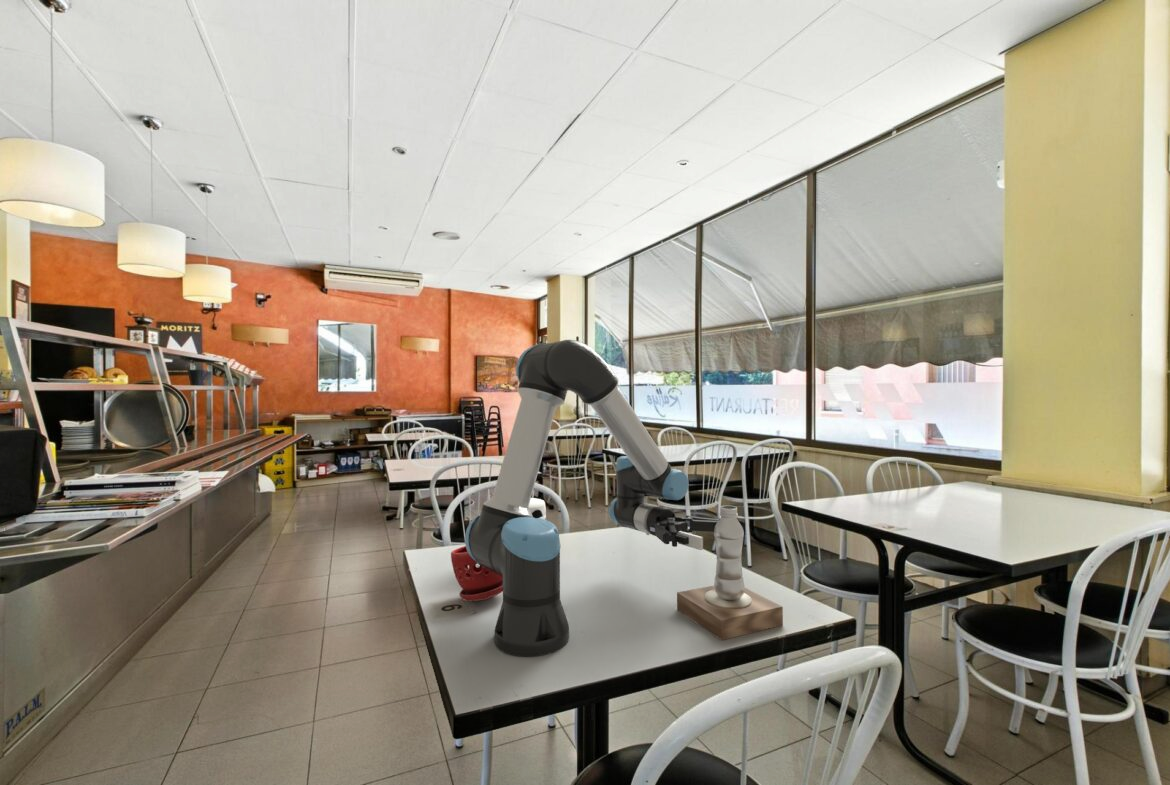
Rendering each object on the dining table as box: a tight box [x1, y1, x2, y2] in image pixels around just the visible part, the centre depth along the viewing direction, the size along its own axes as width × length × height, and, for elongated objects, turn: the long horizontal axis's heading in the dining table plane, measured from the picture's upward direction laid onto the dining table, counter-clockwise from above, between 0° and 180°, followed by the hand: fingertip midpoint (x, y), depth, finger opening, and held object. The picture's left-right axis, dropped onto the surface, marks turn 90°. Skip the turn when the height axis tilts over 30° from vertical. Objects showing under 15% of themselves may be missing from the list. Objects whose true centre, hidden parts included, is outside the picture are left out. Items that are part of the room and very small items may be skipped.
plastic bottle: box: [713, 505, 746, 600], centre depth 113 cm, size 6×7×20 cm
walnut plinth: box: [676, 585, 784, 641], centre depth 113 cm, size 16×16×4 cm
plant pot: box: [450, 545, 503, 603], centre depth 125 cm, size 13×13×12 cm
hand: (722, 538), depth 114 cm, fingers open, 13 cm apart
